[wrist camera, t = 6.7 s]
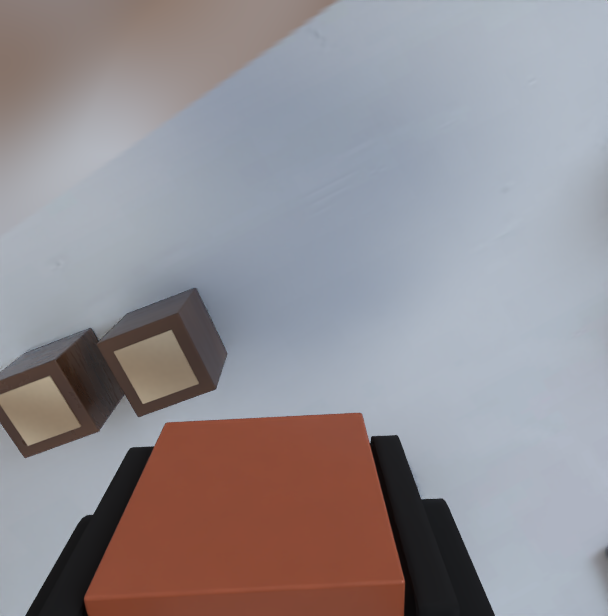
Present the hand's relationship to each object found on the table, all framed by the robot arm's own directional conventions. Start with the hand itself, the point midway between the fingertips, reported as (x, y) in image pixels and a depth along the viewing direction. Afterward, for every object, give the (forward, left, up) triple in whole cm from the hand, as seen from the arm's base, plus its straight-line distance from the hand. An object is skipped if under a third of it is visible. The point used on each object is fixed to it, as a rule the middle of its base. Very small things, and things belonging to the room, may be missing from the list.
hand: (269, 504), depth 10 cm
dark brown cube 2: (0, -12, -15) cm, 19 cm away
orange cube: (0, 0, 0) cm, 0 cm away
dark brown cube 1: (0, -6, -15) cm, 16 cm away
